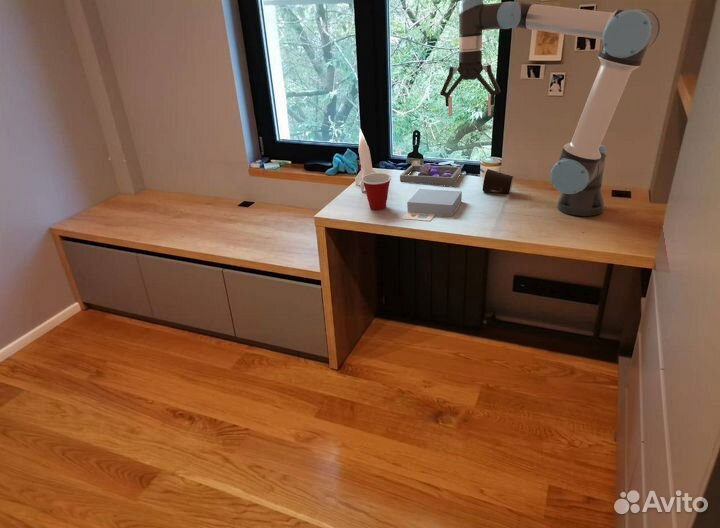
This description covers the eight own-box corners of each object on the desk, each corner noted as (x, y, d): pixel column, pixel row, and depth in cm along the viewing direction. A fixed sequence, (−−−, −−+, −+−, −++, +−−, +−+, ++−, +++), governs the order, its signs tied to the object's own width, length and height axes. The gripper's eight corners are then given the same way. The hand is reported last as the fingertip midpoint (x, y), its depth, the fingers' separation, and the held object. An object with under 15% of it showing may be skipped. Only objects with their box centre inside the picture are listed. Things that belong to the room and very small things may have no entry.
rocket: (356, 187, 216) (345, 128, 206) (377, 181, 218) (368, 123, 207) (361, 193, 208) (350, 132, 197) (384, 187, 209) (374, 127, 198)
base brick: (461, 201, 194) (461, 191, 192) (452, 216, 180) (452, 205, 179) (419, 198, 199) (419, 188, 198) (407, 212, 186) (407, 202, 184)
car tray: (461, 176, 224) (461, 167, 222) (452, 187, 210) (452, 178, 208) (411, 173, 232) (411, 165, 230) (400, 184, 218) (399, 175, 216)
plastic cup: (359, 213, 189) (357, 180, 184) (367, 203, 198) (365, 172, 193) (389, 214, 186) (388, 181, 181) (395, 204, 195) (394, 173, 190)
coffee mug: (512, 176, 193) (485, 171, 196) (507, 198, 197) (481, 193, 200) (516, 169, 203) (490, 165, 206) (512, 190, 207) (487, 186, 210)
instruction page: (435, 214, 183) (435, 213, 183) (430, 221, 177) (430, 220, 177) (408, 212, 186) (407, 211, 186) (402, 218, 181) (402, 218, 181)
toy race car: (452, 185, 215) (452, 169, 212) (417, 183, 220) (417, 168, 217) (457, 178, 223) (457, 163, 220) (423, 177, 228) (423, 162, 225)
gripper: (510, 47, 173) (507, 113, 182) (435, 51, 182) (436, 114, 190) (508, 48, 167) (505, 116, 176) (431, 53, 175) (432, 118, 184)
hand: (469, 115), depth 183 cm, fingers open, 13 cm apart
